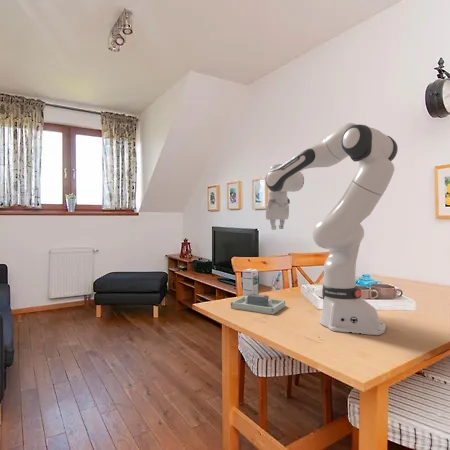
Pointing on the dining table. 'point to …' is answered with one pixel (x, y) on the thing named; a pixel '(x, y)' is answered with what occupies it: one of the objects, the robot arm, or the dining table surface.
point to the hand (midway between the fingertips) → (277, 229)
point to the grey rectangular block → (258, 300)
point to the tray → (269, 309)
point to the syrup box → (250, 282)
